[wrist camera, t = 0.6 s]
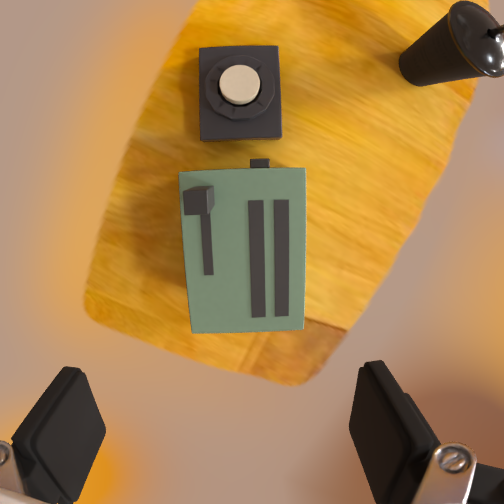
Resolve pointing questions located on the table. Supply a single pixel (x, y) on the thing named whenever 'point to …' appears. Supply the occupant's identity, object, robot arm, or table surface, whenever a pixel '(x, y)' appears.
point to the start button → (239, 84)
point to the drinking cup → (456, 48)
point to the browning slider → (198, 200)
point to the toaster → (246, 250)
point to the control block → (245, 115)
